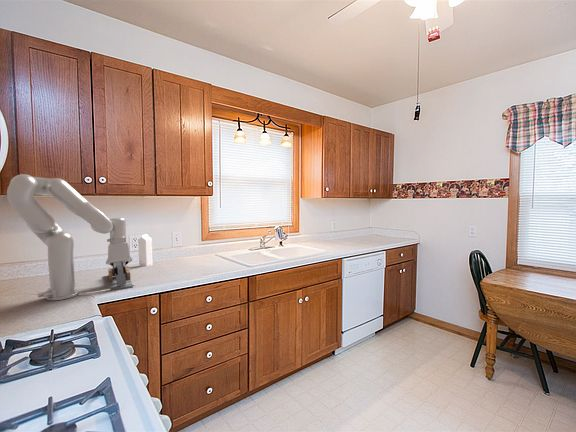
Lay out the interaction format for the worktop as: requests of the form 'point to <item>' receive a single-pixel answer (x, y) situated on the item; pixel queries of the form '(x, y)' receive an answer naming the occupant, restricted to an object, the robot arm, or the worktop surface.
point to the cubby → (114, 282)
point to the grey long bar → (120, 274)
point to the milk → (145, 251)
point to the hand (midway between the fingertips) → (119, 273)
